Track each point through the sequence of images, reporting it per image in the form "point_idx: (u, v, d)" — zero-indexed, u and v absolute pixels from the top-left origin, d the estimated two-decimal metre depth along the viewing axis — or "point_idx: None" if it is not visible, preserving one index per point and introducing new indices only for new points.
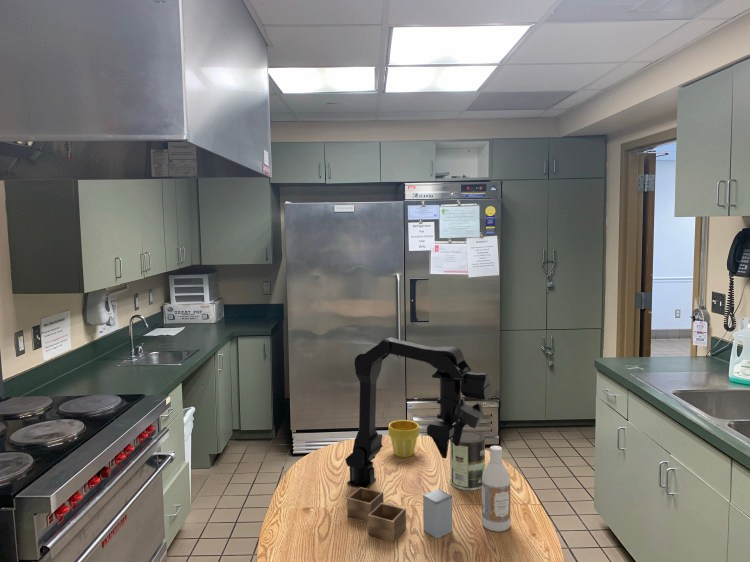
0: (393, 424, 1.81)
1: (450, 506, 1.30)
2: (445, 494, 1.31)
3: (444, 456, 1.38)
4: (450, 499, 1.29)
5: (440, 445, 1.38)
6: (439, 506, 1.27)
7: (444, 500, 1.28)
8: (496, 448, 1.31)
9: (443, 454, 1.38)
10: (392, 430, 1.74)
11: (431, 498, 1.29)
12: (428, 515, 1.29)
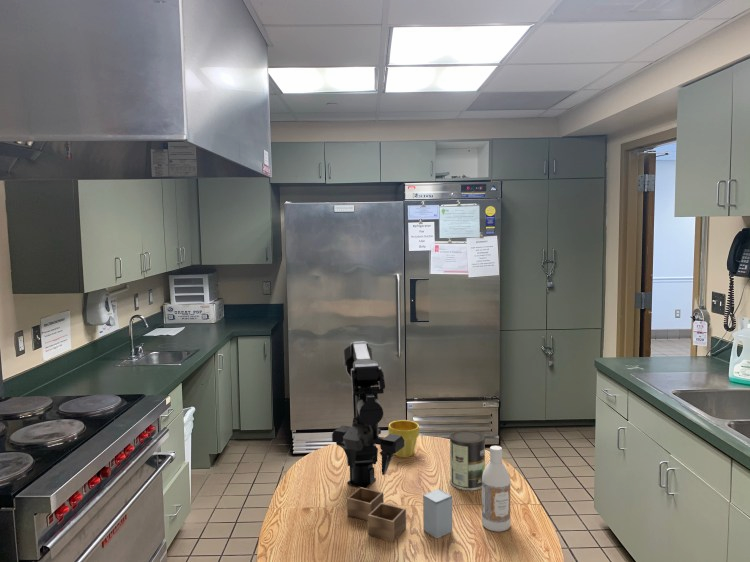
0: (393, 424, 1.81)
1: (450, 506, 1.30)
2: (445, 494, 1.31)
3: None
4: (450, 499, 1.29)
5: None
6: (439, 506, 1.27)
7: (444, 500, 1.28)
8: (496, 448, 1.31)
9: None
10: (392, 430, 1.74)
11: (431, 498, 1.29)
12: (428, 515, 1.29)
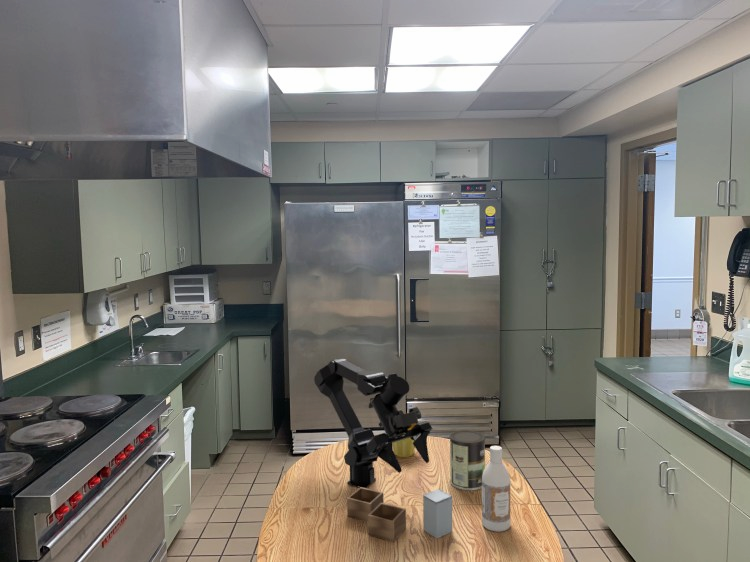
0: None
1: (450, 506, 1.30)
2: (445, 494, 1.31)
3: (398, 469, 1.34)
4: (450, 499, 1.29)
5: (389, 460, 1.35)
6: (439, 506, 1.27)
7: (444, 500, 1.28)
8: (496, 448, 1.31)
9: (396, 468, 1.34)
10: None
11: (431, 498, 1.29)
12: (428, 515, 1.29)
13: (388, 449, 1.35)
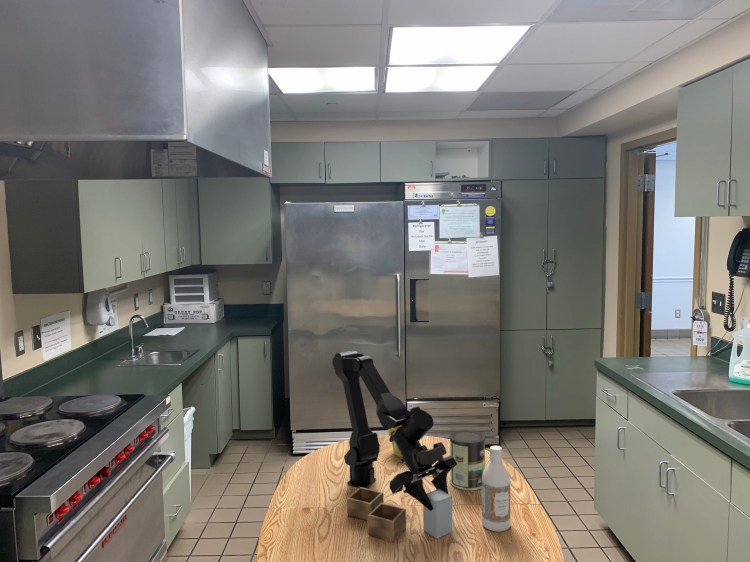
0: None
1: (450, 506, 1.30)
2: (445, 494, 1.31)
3: (430, 508, 1.28)
4: (450, 499, 1.29)
5: (419, 498, 1.30)
6: (440, 506, 1.27)
7: (444, 500, 1.28)
8: (496, 448, 1.31)
9: (428, 506, 1.28)
10: (392, 430, 1.74)
11: (431, 498, 1.29)
12: (428, 515, 1.29)
13: (418, 486, 1.29)
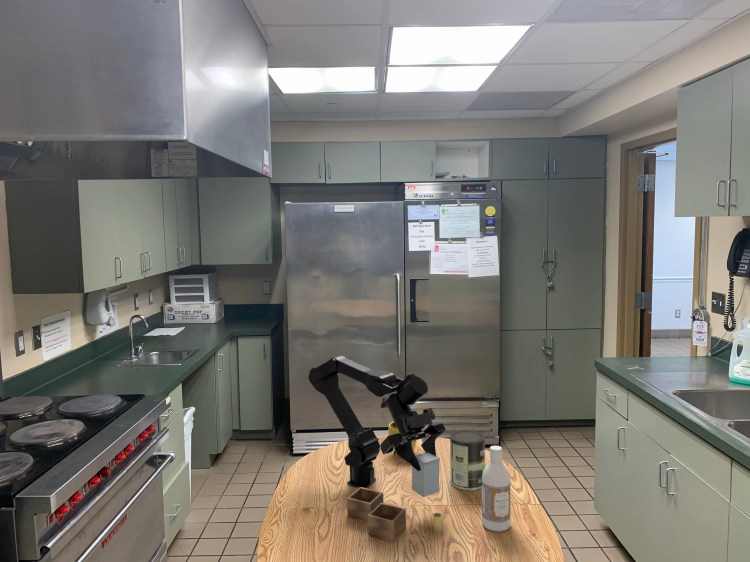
0: None
1: (437, 467, 1.37)
2: (433, 456, 1.38)
3: (417, 468, 1.35)
4: (437, 461, 1.37)
5: (408, 459, 1.37)
6: (427, 467, 1.35)
7: (431, 461, 1.36)
8: (496, 448, 1.31)
9: (416, 466, 1.36)
10: (392, 430, 1.74)
11: (419, 459, 1.36)
12: (416, 475, 1.37)
13: (407, 448, 1.36)
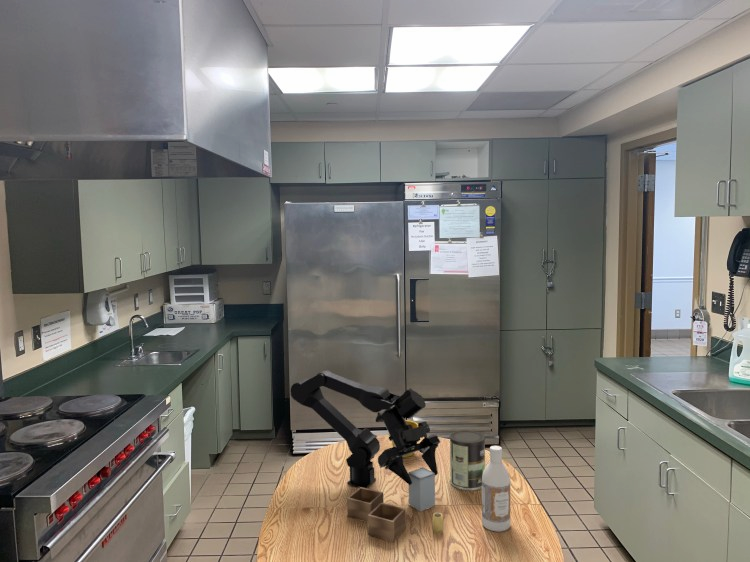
0: None
1: (433, 482, 1.42)
2: (428, 472, 1.43)
3: (409, 482, 1.40)
4: (433, 476, 1.42)
5: (400, 473, 1.41)
6: (423, 482, 1.40)
7: (427, 477, 1.41)
8: (496, 448, 1.31)
9: (407, 480, 1.40)
10: None
11: (415, 475, 1.41)
12: (413, 490, 1.42)
13: (399, 462, 1.40)
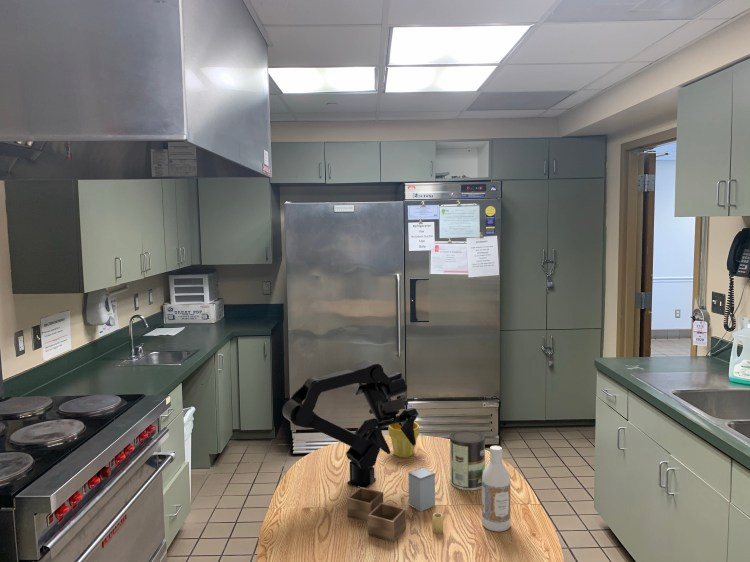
0: (393, 424, 1.81)
1: (433, 482, 1.42)
2: (428, 472, 1.43)
3: (387, 451, 1.46)
4: (433, 476, 1.42)
5: (379, 443, 1.47)
6: (423, 482, 1.40)
7: (427, 477, 1.41)
8: (496, 448, 1.31)
9: (386, 450, 1.46)
10: (392, 430, 1.74)
11: (415, 475, 1.41)
12: (413, 490, 1.42)
13: (378, 433, 1.46)
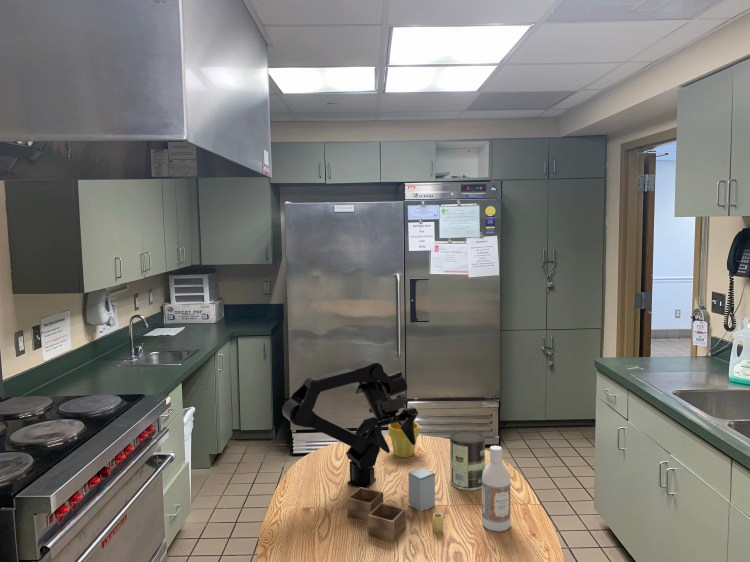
0: (393, 424, 1.81)
1: (433, 482, 1.42)
2: (428, 472, 1.43)
3: (387, 450, 1.45)
4: (433, 476, 1.42)
5: (378, 442, 1.47)
6: (423, 482, 1.40)
7: (427, 477, 1.41)
8: (496, 448, 1.31)
9: (385, 449, 1.46)
10: (392, 430, 1.74)
11: (415, 475, 1.41)
12: (413, 490, 1.42)
13: (377, 432, 1.46)
